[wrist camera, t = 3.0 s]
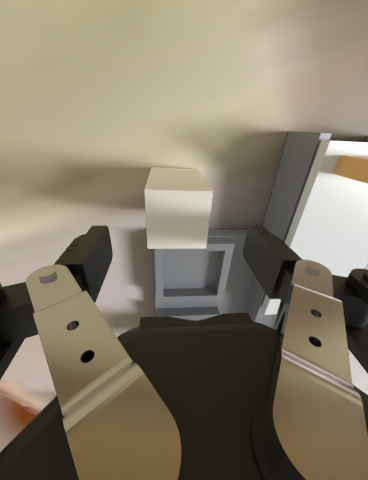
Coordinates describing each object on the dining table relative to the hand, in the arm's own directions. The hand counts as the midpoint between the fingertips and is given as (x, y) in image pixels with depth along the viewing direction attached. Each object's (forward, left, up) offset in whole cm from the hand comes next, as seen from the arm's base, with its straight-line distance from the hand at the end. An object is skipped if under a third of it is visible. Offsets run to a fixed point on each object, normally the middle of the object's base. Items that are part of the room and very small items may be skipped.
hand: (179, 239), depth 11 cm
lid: (+3, +14, -4) cm, 15 cm away
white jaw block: (-1, 0, -8) cm, 8 cm away
